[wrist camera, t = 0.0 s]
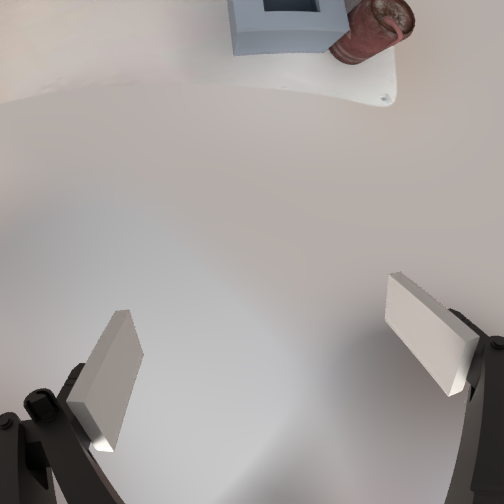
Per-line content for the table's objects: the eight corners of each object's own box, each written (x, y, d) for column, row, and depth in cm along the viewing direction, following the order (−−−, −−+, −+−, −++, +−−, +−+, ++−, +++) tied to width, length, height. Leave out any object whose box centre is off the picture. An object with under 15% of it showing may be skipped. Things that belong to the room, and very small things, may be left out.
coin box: (225, -16, 31) (226, -53, 22) (310, -17, 32) (330, -50, 22) (233, 56, 35) (236, 29, 26) (323, 52, 36) (350, 29, 26)
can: (337, 71, 37) (384, 43, 23) (318, 31, 35) (357, -10, 21) (373, 62, 36) (427, 37, 23) (355, 24, 34) (402, -13, 21)
